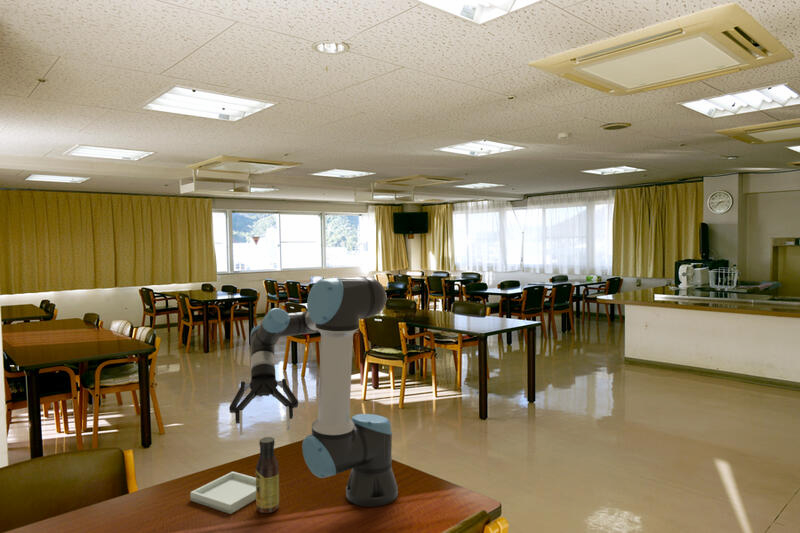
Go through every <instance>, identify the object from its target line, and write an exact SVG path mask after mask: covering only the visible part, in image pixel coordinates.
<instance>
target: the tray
mask: <svg viewBox="0 0 800 533" xmlns="http://www.w3.org/2000/svg"><path fill="white" fill-rule="evenodd" d="M255 500H256V477H253V476H251V475H248V474H243V473H239V472H237V471H230V472H229V473H227V474H224V475H223V476H220V477H218V478H216V479H214V480H212V481H210V482H208V483H206V484H204V485H202V486H200V487H198V488H196V489H194V490H192V491H190V501H191V502H194V503H196V504H200V505H203V506H206V507H207V508H211V509H214V510H217V511H220V512H223V513H226V514H229V515H231V514H233V513H234V512H237V511H239V510H240V509H242V508H244V507H245V506H247V505H249V504H250V503H253V502H254V501H255Z"/></svg>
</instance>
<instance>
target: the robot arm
mask: <svg viewBox="0 0 800 533" xmlns="http://www.w3.org/2000/svg"><path fill="white" fill-rule="evenodd" d="M386 303H387V293H386V289H385V288H384V286H383V284H382V283H381V281H379V280H377V279H376V278H373V277H370V276H366V275H365V276H347V277H346V276H345V277H341V276H340V277H330V278H323V279H319V280H318V281H316V282H314V285H313V286H311V288H310V290H309V292H308V296H307V301H306V308H307V309H306V310H305V311H299V312H287V311H286V310H285V309H283V308H282V309H281V308H279V307H275V308H271V309H270V310H268V311H267V313H266V314H265V316H264V317H263V319H262V321H261V323H260V324H258V325H256V326H254V327H252V329H251V331H250V337H249V339H250V340H249V341H250V369H251V370H250V382H249V383H248V382H245V381H244V380H243V381H241V382H240V386H239V389H238V390H237V393H236V395H235V396H234V398H233V400H232V401H231V403H230V405H229V407H228V408H229V413H230V414H233V413H234V414H235V424H237V425H238V424H239V436H243V410H244V409H245V408H246V407H247V406H248V405H249V404H250V403H251V401H252V400H254V399H256V397H263V396H264V397H269V396H270V395H271V397H273V398H275V399H277V401H279V403H281V404H282V405H283V406H284V407H285V416H286V420H285V421H286V431H290V429H291V420H292V419H293V418H294V409H295V408H298V407H299V400H298V399H297V397H296V396H295V395H294V393H293V392H292V390H291V388H290V387H289V385H288V384H287V379H286V378H282V379H281V380H277V377H276V376H277V375H276V359H275V358H276V357H275V346H276V344H277V343H278V342H279V339H281V338H285V337H292V336H298V335H299V336H300V335H308V334H317V333H320V349H319V350H320V351H319V352H320V355H319V377H318V378H319V380H318V404H317V405H318V408H317V419H315V420H314V422H313V423H312V424H311V434H308V435H307V436H305V437H304V439H303V441H302V445H301V446H302V447H301V448H302V455H303V459H304V461H305V464H306V466H307V467H308V469H309V472H311V473H312V475H314V476H316V477H317V478H320V479H324V478H328V477H333V476H335V475H338V474H341V473H343V472H344V473H345V472H346V471H349V470H351V471H350V474H349V478H348V480H347V484H346V487H345V497H346V499H347V501H349V502H350V503H352V504H353V505H356V506H359V507H367V508H368V507H369V508H371V507H373V508H374V507H381V506H385V505H388V504H390V503H392V502H394V501H395V500H396V499H397V498H398V495H399V492H398V491H399V490H398V489H399V488H398V483H397V481H396V480H397V479H396V478H395V474H394V472H393V471H394V470H393V468H392V462H393V461H392V458H393V456H392V447H393V446H392V441H393V439H392V438H393V437H392V436H393V432H392V423H391V421H390V420H389V418H387V417H385V416H383V415H379V414H373V413H372V414H371V413H359V414H354V415H353V416H352V417H351V419H350V416H351V415H350V413H351V410H350V409H351V387H352V364H353V344H354V343H353V342H354V341H353V340H354V334H355V333H356V332H357V331H359V329H360V320H361V319H369V318H372V317H375V316H377V315H379V314H380V313H381V312H382V311H383V310H384V308H385V306H386ZM277 387H280V388H281V389H282V390H283V392H284V394H285V395H286V396H284V395H283V394H282V393H281V392H280V391H279V390H278V388H277ZM249 388H250V391H249V393H248V394H247V395H246V396H245V397H244V398H243V400H242V397H243V395H244V394H245V391H247V390H248V389H249ZM241 400H242V401H241Z"/></svg>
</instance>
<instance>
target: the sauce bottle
mask: <svg viewBox="0 0 800 533" xmlns="http://www.w3.org/2000/svg"><path fill="white" fill-rule="evenodd" d="M258 446H259V457H258V461H257V462H256V466H255V478H256V503H255V504H256V508H257V509H256V510H257V511H258V512H259V513H263V514H268V513H270V514H271V513H273V512H276V511H277V510H278V508H279V507H280V470H279V460H278V458H277V457H276V455H275V437H271V436H266V437H262V438H260V439H259V444H258Z"/></svg>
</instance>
